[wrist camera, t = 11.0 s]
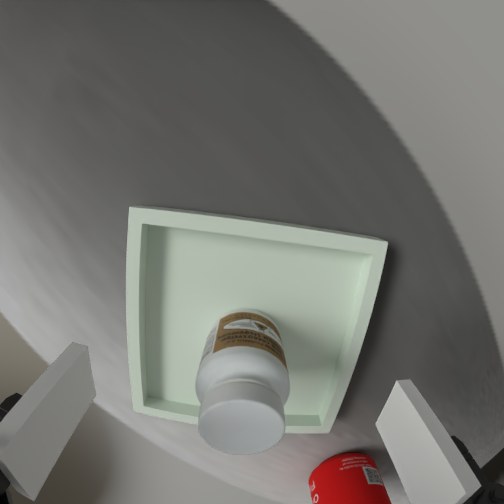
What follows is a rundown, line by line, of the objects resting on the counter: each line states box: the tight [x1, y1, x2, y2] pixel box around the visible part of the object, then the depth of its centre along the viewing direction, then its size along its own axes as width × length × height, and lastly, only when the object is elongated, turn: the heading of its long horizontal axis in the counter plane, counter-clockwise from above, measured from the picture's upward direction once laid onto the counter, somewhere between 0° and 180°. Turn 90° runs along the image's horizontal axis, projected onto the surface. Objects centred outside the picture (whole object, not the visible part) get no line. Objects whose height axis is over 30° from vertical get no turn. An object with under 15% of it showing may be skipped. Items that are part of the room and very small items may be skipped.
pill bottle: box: [195, 309, 290, 455], centre depth 14 cm, size 4×4×8 cm
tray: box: [126, 205, 388, 433], centre depth 17 cm, size 14×14×2 cm
